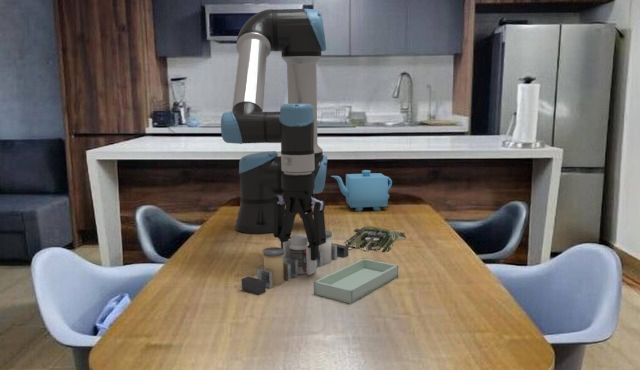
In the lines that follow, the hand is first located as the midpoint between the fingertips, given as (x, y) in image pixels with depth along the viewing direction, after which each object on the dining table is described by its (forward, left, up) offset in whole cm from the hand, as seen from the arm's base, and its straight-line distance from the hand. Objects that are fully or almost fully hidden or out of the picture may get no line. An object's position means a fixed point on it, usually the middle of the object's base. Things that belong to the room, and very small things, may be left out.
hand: (299, 270), depth 125 cm
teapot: (-25, +66, -1) cm, 71 cm away
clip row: (0, 0, 0) cm, 0 cm away
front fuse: (0, -9, 0) cm, 9 cm away
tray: (+16, 0, 0) cm, 16 cm away
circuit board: (0, +33, -1) cm, 33 cm away
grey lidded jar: (0, +9, 0) cm, 9 cm away
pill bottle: (0, 0, 0) cm, 0 cm away
